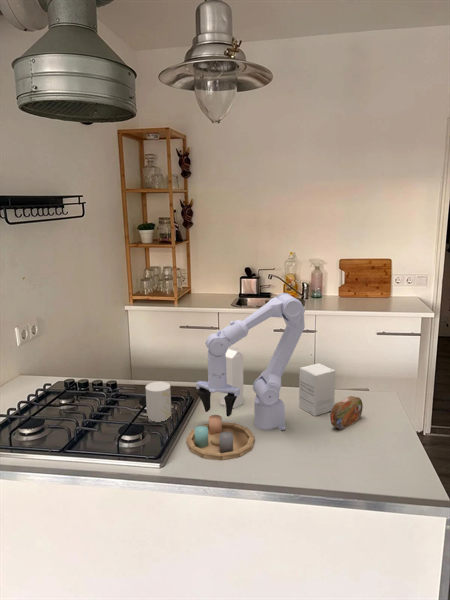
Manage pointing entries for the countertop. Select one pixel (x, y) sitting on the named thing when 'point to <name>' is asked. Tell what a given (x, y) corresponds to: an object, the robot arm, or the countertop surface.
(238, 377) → the milk
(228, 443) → the bead charcoal
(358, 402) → the tin
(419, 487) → the countertop surface
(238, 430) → the tray
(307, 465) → the countertop surface
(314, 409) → the supplement box
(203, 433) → the bead teal
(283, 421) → the robot arm
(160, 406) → the white cylinder
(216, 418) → the bead terracotta
